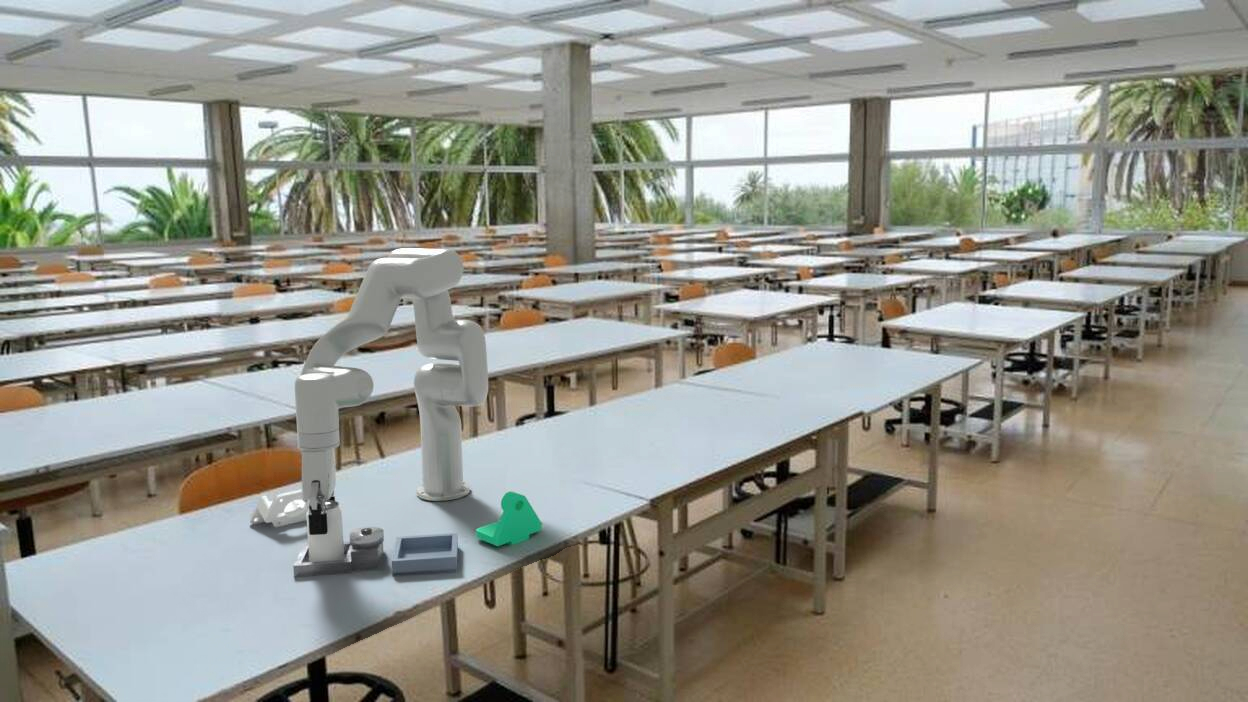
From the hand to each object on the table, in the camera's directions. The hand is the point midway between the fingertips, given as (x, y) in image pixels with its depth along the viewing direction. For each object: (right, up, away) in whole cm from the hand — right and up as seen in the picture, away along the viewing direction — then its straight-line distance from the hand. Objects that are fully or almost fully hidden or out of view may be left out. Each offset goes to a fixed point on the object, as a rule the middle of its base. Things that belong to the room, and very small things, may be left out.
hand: (322, 524), depth 169 cm
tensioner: (+3, -8, +2) cm, 9 cm away
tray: (+19, -8, +3) cm, 21 cm away
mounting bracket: (-17, -4, +23) cm, 29 cm away
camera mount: (+34, -6, +15) cm, 37 cm away
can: (0, -8, +2) cm, 8 cm away
